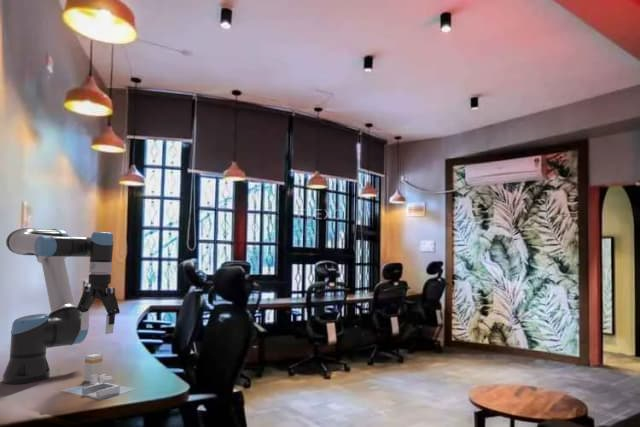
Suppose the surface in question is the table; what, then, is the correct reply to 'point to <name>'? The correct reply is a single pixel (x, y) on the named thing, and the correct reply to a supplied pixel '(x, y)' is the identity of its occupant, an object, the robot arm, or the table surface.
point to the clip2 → (107, 380)
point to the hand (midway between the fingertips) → (96, 331)
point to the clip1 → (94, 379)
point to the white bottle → (92, 366)
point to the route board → (78, 389)
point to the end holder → (100, 390)
